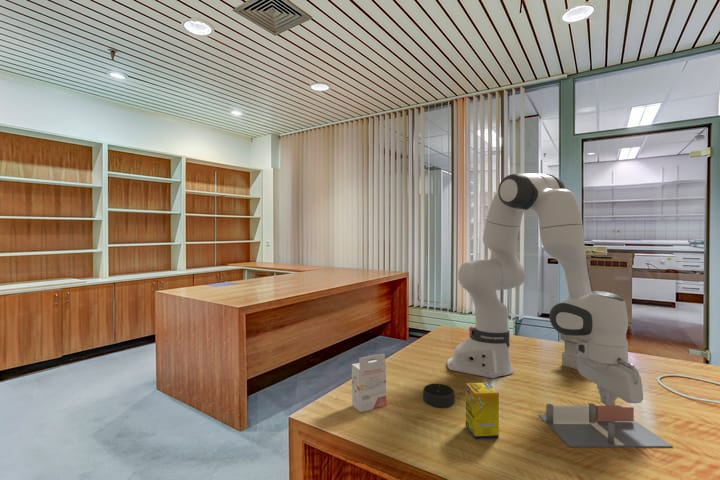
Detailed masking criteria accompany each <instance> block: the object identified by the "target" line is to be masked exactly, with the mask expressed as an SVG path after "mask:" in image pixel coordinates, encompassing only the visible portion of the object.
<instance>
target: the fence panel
mask: <svg viewBox="0 0 720 480" xmlns="http://www.w3.org/2000/svg"><path fill="white" fill-rule="evenodd" d="M634 415H635V407H633V406H632V405H615V406H606V405H595V420H597V421H634V420H635V418H634V417H635V416H634Z"/></svg>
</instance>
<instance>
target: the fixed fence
mask: <svg viewBox="0 0 720 480" xmlns="http://www.w3.org/2000/svg"><path fill="white" fill-rule="evenodd" d="M545 406H546V407H545V409H546V411H545V415H546V422H547V423H549V424H553V423H589V422H590V423H595V406H596V404H595V403H592V402H591V403H588V405H553V404H550V403H546V405H545ZM608 442H609V443H611V444H614V423H611V422H608Z"/></svg>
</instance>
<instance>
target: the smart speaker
mask: <svg viewBox="0 0 720 480" xmlns="http://www.w3.org/2000/svg"><path fill="white" fill-rule="evenodd" d="M422 400H423V401H424V403H425V404H427V405H428V406H429V407H432V408H437V409H446V408H447V409H448V408H450V407H452V406H453V405H454V404H455V402H456V393H455V390H454V389H453V388H452V387H451V386H449V385H448V384H444V383H429V384H426V385H425V386H424V387H423V389H422Z"/></svg>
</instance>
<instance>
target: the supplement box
mask: <svg viewBox="0 0 720 480" xmlns="http://www.w3.org/2000/svg"><path fill="white" fill-rule="evenodd" d="M499 413H500V393H499V392H498V391H497V390H496V389H495V388H494V387H493V386H492V385H491V384H490V383H489V382H468V383H467V382H466V383H465V427H466V429H467V430H468V431H469V433H470V434H471V435H472V437H473V439H474V440H476V441H477V440H491V439H492V440H493V439H499V437H500V436H499V432H500V431H499V425H500V423H499V422H500V420H499V419H500V417H499V415H500V414H499Z"/></svg>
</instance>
